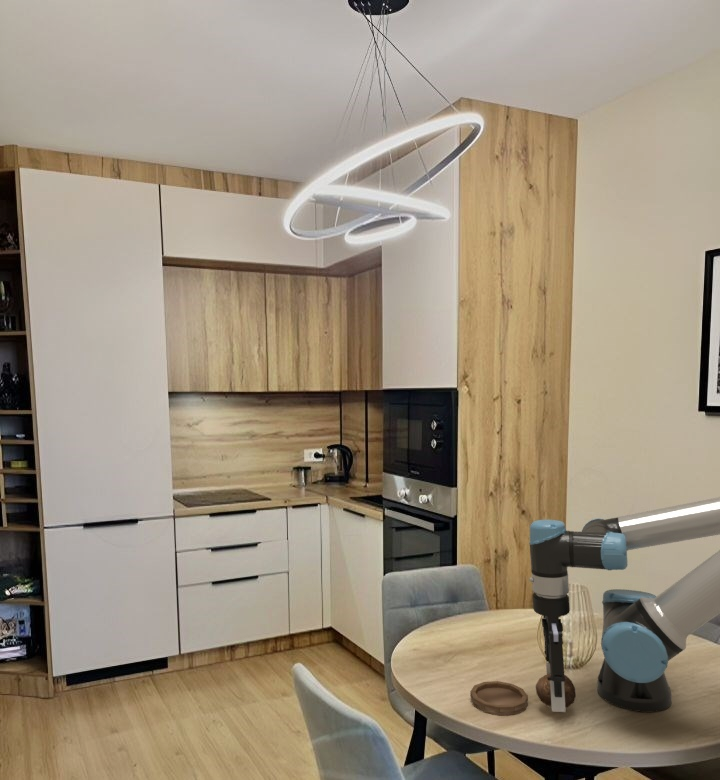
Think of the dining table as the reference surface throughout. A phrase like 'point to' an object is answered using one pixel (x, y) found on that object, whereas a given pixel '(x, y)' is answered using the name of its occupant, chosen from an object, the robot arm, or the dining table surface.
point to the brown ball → (545, 691)
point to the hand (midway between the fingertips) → (556, 701)
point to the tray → (499, 698)
